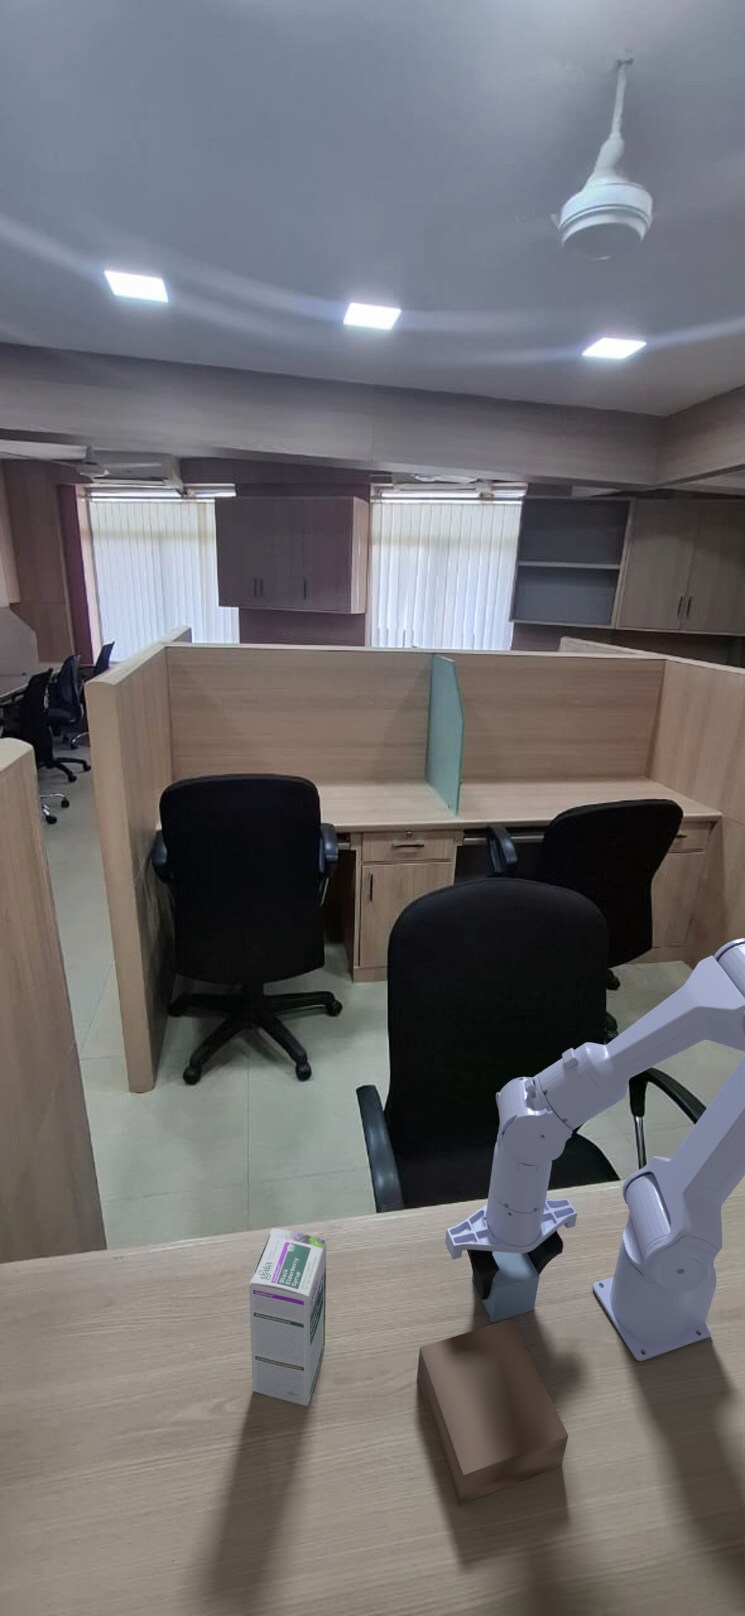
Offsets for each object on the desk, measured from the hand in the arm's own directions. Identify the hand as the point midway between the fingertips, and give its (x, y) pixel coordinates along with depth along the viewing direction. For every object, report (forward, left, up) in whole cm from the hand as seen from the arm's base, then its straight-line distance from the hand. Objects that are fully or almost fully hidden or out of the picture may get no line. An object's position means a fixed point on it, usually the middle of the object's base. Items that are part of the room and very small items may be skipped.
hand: (503, 1284), depth 71 cm
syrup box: (+24, +1, -2) cm, 24 cm away
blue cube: (0, 0, -1) cm, 1 cm away
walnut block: (+7, +10, -1) cm, 12 cm away
